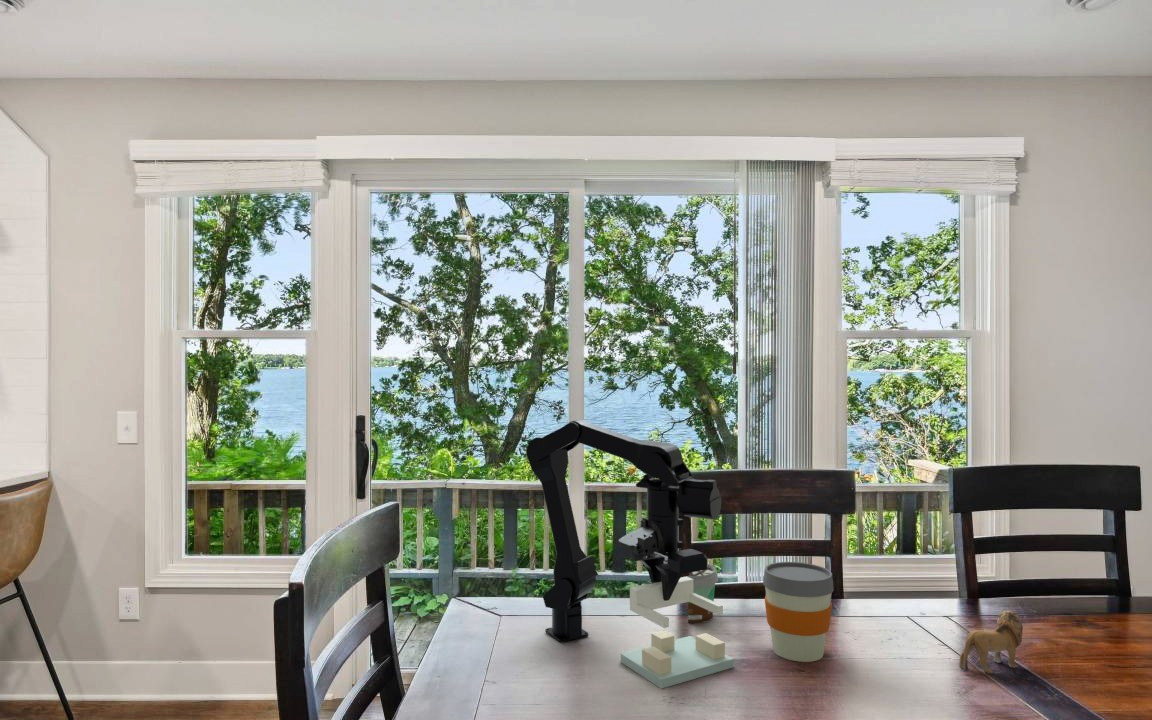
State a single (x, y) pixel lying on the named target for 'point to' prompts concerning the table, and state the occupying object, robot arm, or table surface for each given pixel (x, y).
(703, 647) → the display stand
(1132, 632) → the table surface
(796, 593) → the reusable coffee cup
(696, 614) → the food container
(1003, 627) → the lion figurine
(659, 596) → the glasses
